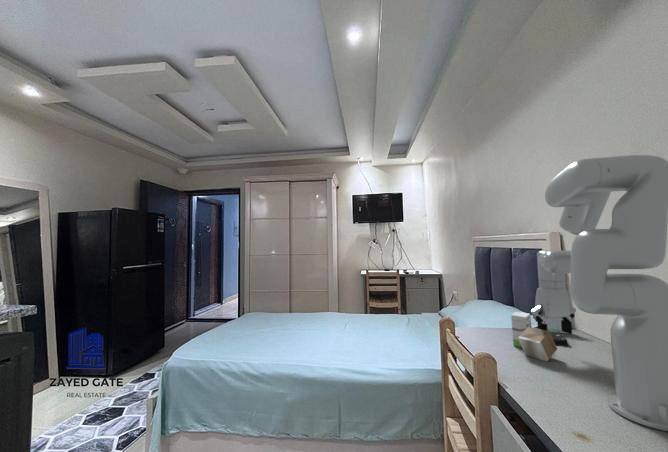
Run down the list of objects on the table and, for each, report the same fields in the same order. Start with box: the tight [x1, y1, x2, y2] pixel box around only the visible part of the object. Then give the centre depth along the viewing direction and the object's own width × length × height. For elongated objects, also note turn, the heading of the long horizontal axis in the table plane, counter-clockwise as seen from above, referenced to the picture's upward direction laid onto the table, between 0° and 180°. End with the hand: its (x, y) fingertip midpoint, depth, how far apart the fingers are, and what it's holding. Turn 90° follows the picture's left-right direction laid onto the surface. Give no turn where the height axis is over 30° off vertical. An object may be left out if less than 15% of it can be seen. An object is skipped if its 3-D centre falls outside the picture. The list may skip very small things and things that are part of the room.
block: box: [518, 326, 558, 362], centre depth 94 cm, size 7×7×7 cm
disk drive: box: [537, 327, 569, 347], centre depth 112 cm, size 10×3×15 cm
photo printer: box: [541, 317, 569, 335], centre depth 123 cm, size 10×4×12 cm, turn 36°
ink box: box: [510, 311, 532, 348], centre depth 107 cm, size 9×5×12 cm, turn 134°
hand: (554, 333), depth 96 cm, fingers open, 9 cm apart
